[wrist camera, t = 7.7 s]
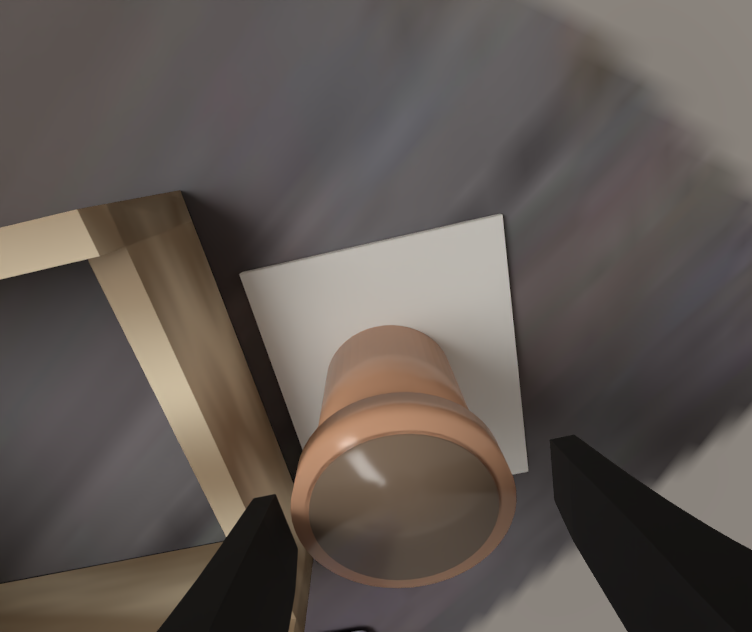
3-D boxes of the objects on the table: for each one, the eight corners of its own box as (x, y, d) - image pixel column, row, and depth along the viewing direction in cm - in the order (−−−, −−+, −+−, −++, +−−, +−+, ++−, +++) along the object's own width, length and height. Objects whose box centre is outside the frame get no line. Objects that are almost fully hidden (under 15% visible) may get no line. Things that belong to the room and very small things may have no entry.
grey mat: (525, 466, 17) (528, 471, 17) (325, 505, 18) (324, 510, 18) (499, 213, 13) (502, 214, 13) (241, 272, 14) (239, 274, 14)
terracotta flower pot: (469, 426, 16) (527, 570, 11) (337, 452, 17) (324, 607, 11) (448, 301, 14) (505, 397, 9) (299, 334, 15) (258, 447, 9)
